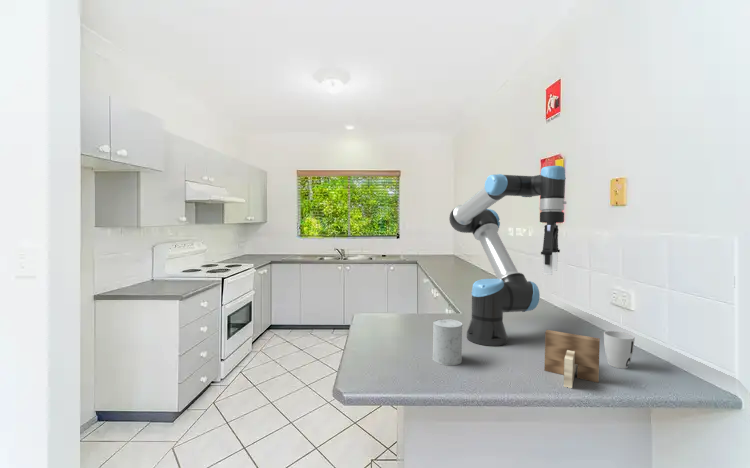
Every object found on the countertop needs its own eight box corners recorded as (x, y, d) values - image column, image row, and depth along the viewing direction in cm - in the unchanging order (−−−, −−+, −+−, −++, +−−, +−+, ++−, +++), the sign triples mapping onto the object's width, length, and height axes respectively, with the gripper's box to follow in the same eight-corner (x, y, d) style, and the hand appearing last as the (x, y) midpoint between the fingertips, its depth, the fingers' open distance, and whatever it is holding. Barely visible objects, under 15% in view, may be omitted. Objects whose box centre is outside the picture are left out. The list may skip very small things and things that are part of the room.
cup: (635, 373, 104) (636, 340, 104) (603, 366, 108) (604, 335, 108) (632, 364, 111) (633, 333, 111) (602, 358, 115) (603, 329, 115)
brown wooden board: (544, 370, 105) (545, 332, 105) (545, 367, 108) (546, 329, 107) (598, 382, 97) (599, 341, 97) (598, 378, 100) (599, 338, 99)
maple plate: (571, 388, 94) (572, 359, 93) (563, 386, 95) (564, 358, 94) (576, 364, 110) (577, 340, 110) (569, 362, 111) (570, 338, 111)
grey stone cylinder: (462, 356, 116) (463, 320, 116) (460, 367, 107) (461, 328, 106) (434, 352, 119) (435, 317, 119) (430, 362, 110) (430, 325, 110)
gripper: (560, 209, 105) (558, 277, 106) (567, 212, 126) (566, 269, 127) (533, 209, 110) (532, 275, 110) (545, 212, 130) (543, 267, 131)
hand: (550, 272), depth 118 cm, fingers open, 13 cm apart
